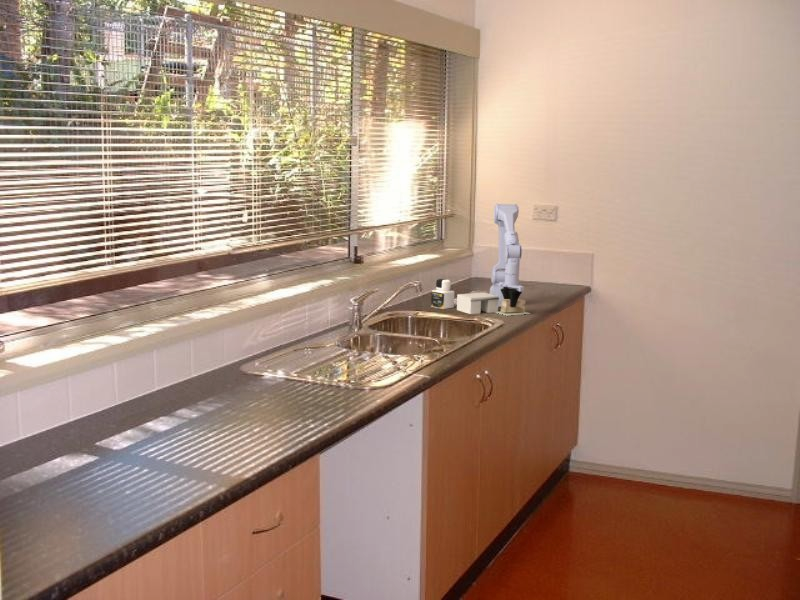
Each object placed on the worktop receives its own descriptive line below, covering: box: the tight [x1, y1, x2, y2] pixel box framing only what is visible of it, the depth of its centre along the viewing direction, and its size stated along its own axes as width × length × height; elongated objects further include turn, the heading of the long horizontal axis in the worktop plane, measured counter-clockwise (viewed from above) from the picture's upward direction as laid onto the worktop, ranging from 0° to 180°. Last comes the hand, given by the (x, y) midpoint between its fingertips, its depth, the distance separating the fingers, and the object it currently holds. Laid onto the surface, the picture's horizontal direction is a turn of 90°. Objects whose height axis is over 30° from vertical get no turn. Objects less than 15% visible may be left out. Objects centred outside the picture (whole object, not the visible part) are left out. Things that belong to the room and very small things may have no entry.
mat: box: [494, 310, 531, 317], centre depth 395 cm, size 8×12×1 cm, turn 121°
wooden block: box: [500, 298, 527, 312], centre depth 394 cm, size 10×3×5 cm, turn 121°
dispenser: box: [456, 292, 499, 315], centre depth 397 cm, size 10×14×7 cm
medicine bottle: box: [430, 278, 455, 310], centre depth 403 cm, size 7×7×12 cm
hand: (510, 306), depth 394 cm, fingers closed on wooden block, 3 cm apart
